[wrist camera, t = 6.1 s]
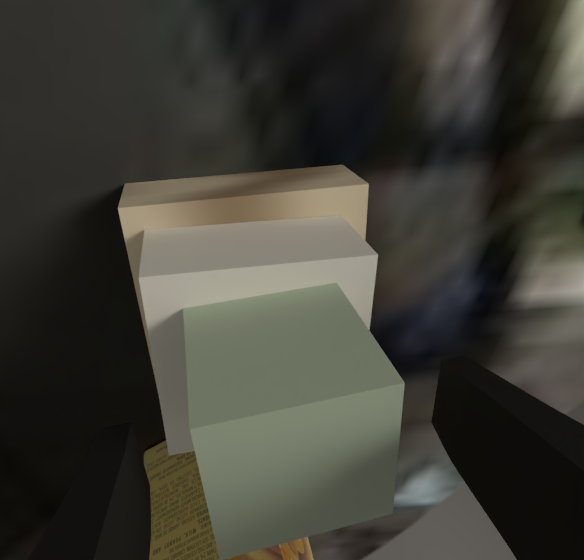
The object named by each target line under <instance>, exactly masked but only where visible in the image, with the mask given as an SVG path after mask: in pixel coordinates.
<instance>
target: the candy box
mask: <svg viewBox="0 0 584 560" xmlns="http://www.w3.org/2000/svg"><path fill="white" fill-rule="evenodd" d="M144 466H145V470H146V473H147V477H148V480H149V483H150V499H151V542H150V554H149V560H220V558H219V554H218V550H217V545H216V541H215V537H214V532H213V528H212V524H211V519H210V515H209V511H208V507H207V502H206V498H205V494H204V489H203V485H202V481H201V476H200V472H199V468H198V463H197V459H196V455H195V451H192V452H186V453H181V454H175V455H170V456H169V453H168V447H167V441H166V440H165V441H163V442H161V443H159V444H158V445H156V446H154V447H152V448H150V449H148V450H147V451H145V452H144ZM224 560H314V559H313V556H312V552H311V548H310V544H309V541H308V537H305V538H301V539H297V540H294V541H290V542H286V543H283V544H279V545H275V546H272V547H268V548H264V549H261V550H257V551H253V552H250V553H246V554H242V555H238V556H235V557H231V558H227V559H224Z"/></svg>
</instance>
